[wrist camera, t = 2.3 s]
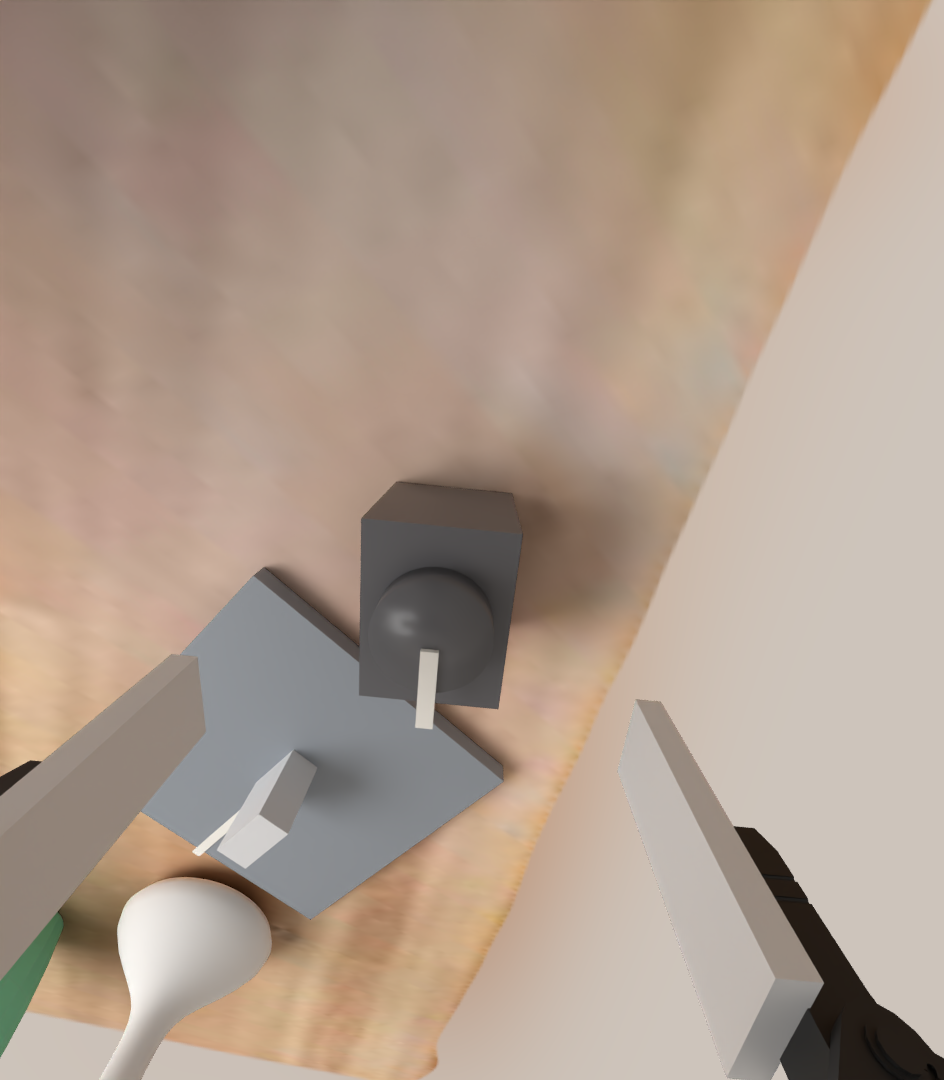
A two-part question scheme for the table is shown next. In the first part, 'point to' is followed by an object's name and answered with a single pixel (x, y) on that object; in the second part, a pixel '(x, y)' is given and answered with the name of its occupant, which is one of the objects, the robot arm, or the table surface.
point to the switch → (308, 757)
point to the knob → (437, 596)
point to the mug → (26, 979)
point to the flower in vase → (182, 959)
